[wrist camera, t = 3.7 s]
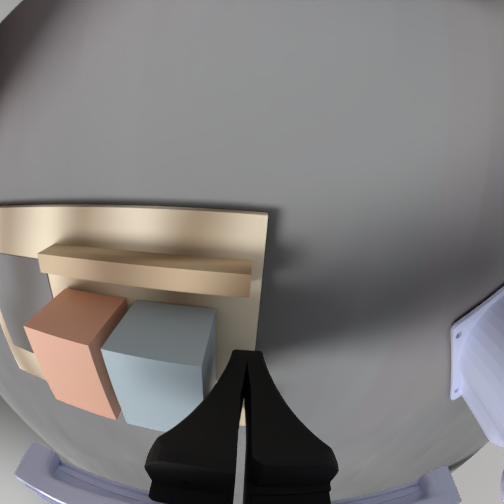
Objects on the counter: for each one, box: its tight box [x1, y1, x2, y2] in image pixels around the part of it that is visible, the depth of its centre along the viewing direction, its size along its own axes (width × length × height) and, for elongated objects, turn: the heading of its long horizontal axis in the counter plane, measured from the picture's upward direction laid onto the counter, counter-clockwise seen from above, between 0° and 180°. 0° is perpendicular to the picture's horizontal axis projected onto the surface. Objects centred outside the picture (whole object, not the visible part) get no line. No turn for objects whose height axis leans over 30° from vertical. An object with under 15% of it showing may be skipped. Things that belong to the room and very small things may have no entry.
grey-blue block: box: [101, 300, 216, 432], centre depth 12 cm, size 4×5×4 cm
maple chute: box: [0, 204, 268, 426], centre depth 13 cm, size 20×14×2 cm
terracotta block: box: [23, 288, 128, 420], centre depth 12 cm, size 4×5×4 cm
